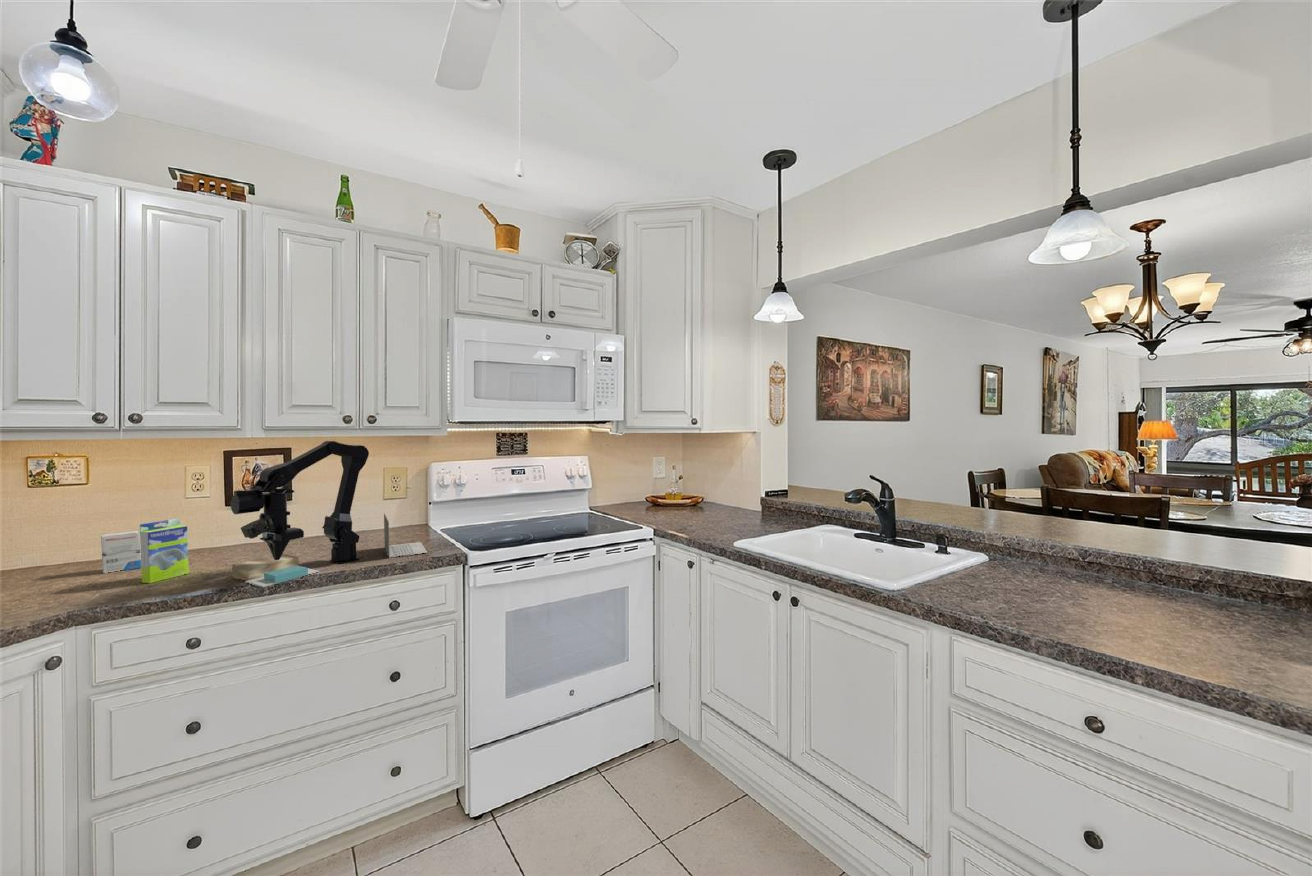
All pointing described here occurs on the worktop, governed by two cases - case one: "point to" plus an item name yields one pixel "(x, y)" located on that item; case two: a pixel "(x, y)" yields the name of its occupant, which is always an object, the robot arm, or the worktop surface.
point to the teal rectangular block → (285, 573)
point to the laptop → (400, 545)
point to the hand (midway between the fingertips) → (276, 559)
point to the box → (163, 550)
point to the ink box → (121, 551)
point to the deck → (262, 566)
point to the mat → (264, 583)
